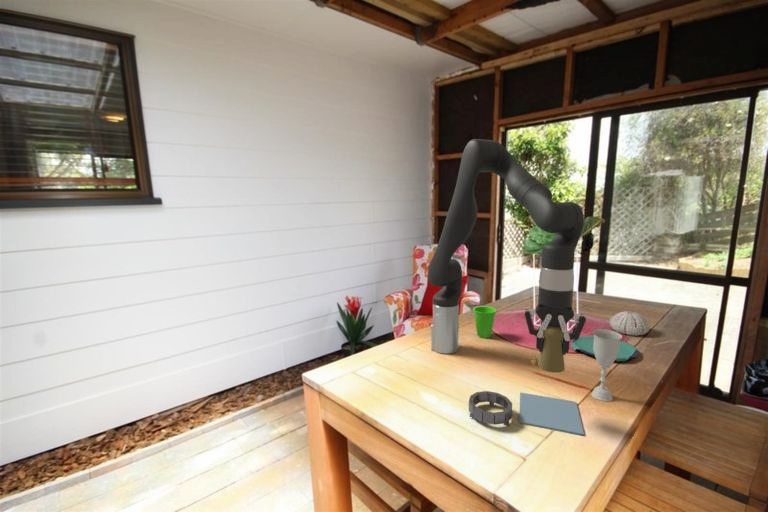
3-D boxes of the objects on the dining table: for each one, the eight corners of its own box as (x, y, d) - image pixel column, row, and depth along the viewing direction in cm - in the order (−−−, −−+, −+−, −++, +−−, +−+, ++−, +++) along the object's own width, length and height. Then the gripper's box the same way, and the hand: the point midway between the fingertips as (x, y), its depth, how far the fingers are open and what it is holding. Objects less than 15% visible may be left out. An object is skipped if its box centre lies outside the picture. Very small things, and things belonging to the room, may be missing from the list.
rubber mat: (519, 423, 87) (519, 421, 87) (520, 393, 100) (520, 392, 100) (583, 435, 82) (584, 434, 82) (576, 403, 95) (576, 401, 95)
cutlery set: (628, 369, 113) (629, 362, 112) (534, 344, 134) (535, 338, 134) (643, 351, 126) (644, 345, 126) (556, 331, 148) (556, 325, 147)
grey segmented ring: (466, 422, 88) (466, 409, 87) (472, 400, 98) (472, 388, 97) (510, 431, 84) (511, 418, 84) (512, 407, 94) (512, 395, 93)
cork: (567, 373, 86) (570, 330, 84) (541, 371, 87) (543, 328, 85) (560, 362, 92) (563, 321, 90) (535, 360, 93) (537, 320, 91)
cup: (498, 334, 143) (499, 307, 142) (492, 342, 136) (493, 314, 134) (476, 330, 148) (477, 304, 146) (469, 337, 141) (469, 310, 139)
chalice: (616, 406, 93) (622, 341, 90) (587, 399, 97) (591, 336, 94) (616, 393, 99) (621, 332, 96) (588, 386, 103) (592, 327, 100)
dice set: (543, 370, 114) (544, 364, 114) (527, 365, 118) (528, 360, 118) (549, 364, 118) (549, 359, 118) (533, 360, 121) (533, 355, 121)
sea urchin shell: (654, 332, 142) (656, 313, 140) (640, 340, 134) (642, 320, 133) (618, 323, 153) (619, 305, 151) (602, 330, 145) (604, 311, 144)
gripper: (524, 287, 85) (521, 354, 88) (592, 292, 80) (586, 363, 83) (524, 280, 92) (521, 342, 95) (587, 284, 87) (582, 350, 90)
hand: (551, 351), depth 89 cm, fingers closed on cork, 4 cm apart
